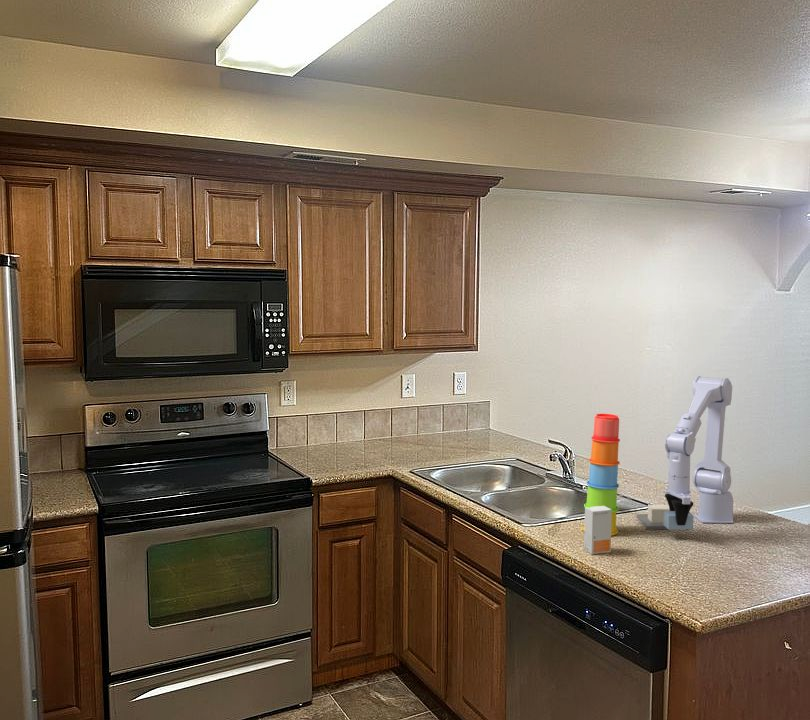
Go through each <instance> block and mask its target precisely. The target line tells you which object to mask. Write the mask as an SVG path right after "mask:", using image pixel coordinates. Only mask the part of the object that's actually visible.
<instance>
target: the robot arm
mask: <svg viewBox="0 0 810 720" xmlns="http://www.w3.org/2000/svg"><path fill="white" fill-rule="evenodd" d="M732 393H733V385H732V382H731V380H730V379H729V378H727V377H725V378H724V377H723V378H720V377H706V376H699V375H698V376H696V377H695V378H694V380H693V382H692V394H693V395H692V396H693V398H692V401H691V404H690V406H689V409H688V412H686V413H684V414H682V415H681V417H680V419H679V421H678V423H677V425H676V427H675V429H674V431H673V432H671V433H669V434H668V435H667V436H666V439H665V444H664V447H665V451H666V458H667V459H668V481H667V482H668V484H667V489H664V490H663V493H665V494H664V497H665V499H666V502H667V505H669V509H670V511H675V515H676V522H677V525H685V524H686V520H687V517H688V513H689V512H690V511H691V509H692V507H693V506H694V502H693V501H692V500H691V490H690V488H691V486H690V485H691V455H692V454H693V452H694V451H695V450H694V449H695V445H696V444H695V443H696V441H697V438H696V436H697V434H698V433H699V430H700V428H701V425H702V420H701V419H700V418H701V417H702V415H703V414H704V413H705V411H706V410H707V418H706V419H707V420H706V429H705V430H706V432H705V440H704V441H705V442H704V443H705V444H704V453H703V454H704V457H703V459H701V460H700V461H697V462H696V463H695V467H694V471H693V474H692V483H693V485H694V487H695V488H696V491H698V513H694V514H693V515H694V517H695V518H697V520H698V521H700V523H703V524H733V523H734V520H733V518H734V498H733V494H732V492H731V491H729V490H730V488H731V484H732V476H731V467H730V466H729V465H728V464H727V463H726V462H725V461H723V460H722V457H723V455H722V454H723V444H724V434H725V433H724V431H725V430H724V429H725V419H726V409H727V408H726V407H727V406H730V405H731V402H732V395H733V394H732Z"/></svg>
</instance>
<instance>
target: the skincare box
mask: <svg viewBox="0 0 810 720" xmlns="http://www.w3.org/2000/svg"><path fill="white" fill-rule="evenodd" d="M611 519H612V510H611V509H609V508H607V507H605V506H594V507H587V508H585V507H584V525H585V529H584V531H583V532H584V536H583V538H584V539H583V550H584V551H585V550H586V551H585V552H587V553H589V554H590V555H595V554H596V555H598V554H606V553H609V552H610V553H611V551H612V550H611V549H612V546H611V545H612V536H611ZM610 553H609V554H610Z"/></svg>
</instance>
